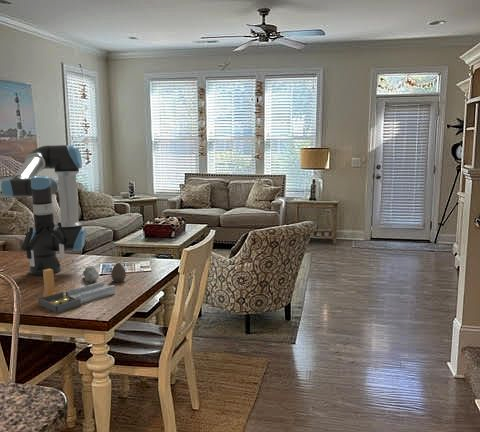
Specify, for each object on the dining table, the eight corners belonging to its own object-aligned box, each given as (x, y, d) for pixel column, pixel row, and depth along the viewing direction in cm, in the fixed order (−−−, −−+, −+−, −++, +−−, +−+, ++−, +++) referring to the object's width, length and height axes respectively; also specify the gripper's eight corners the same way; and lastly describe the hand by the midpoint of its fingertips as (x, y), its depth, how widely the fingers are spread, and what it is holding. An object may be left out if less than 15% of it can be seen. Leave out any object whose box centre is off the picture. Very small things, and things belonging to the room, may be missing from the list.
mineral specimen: (102, 284, 224) (101, 270, 223) (86, 286, 221) (85, 272, 220) (98, 275, 238) (97, 262, 237) (83, 277, 235) (82, 264, 234)
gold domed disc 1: (47, 306, 194) (47, 301, 193) (57, 303, 197) (56, 299, 196) (52, 308, 191) (52, 303, 191) (61, 305, 194) (61, 301, 194)
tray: (39, 305, 196) (38, 298, 196) (63, 298, 204) (62, 291, 204) (56, 313, 187) (56, 306, 187) (81, 305, 195) (80, 298, 195)
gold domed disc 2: (57, 304, 196) (56, 299, 196) (65, 301, 200) (65, 296, 199) (62, 306, 194) (62, 301, 194) (71, 303, 197) (70, 298, 197)
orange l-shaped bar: (43, 298, 205) (41, 269, 202) (50, 296, 207) (47, 267, 205) (50, 301, 201) (48, 271, 199) (57, 299, 203) (54, 270, 201)
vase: (113, 278, 232) (113, 261, 230) (127, 278, 232) (127, 261, 230) (109, 283, 225) (108, 265, 224) (124, 283, 225) (123, 265, 223)
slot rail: (66, 299, 203) (65, 291, 203) (102, 288, 217) (101, 281, 216) (78, 304, 197) (78, 296, 196) (115, 293, 210) (114, 285, 210)
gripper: (17, 219, 186) (23, 270, 190) (75, 210, 205) (78, 257, 209) (9, 216, 191) (14, 267, 195) (66, 208, 209) (69, 254, 213)
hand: (47, 262), depth 202 cm, fingers open, 13 cm apart
